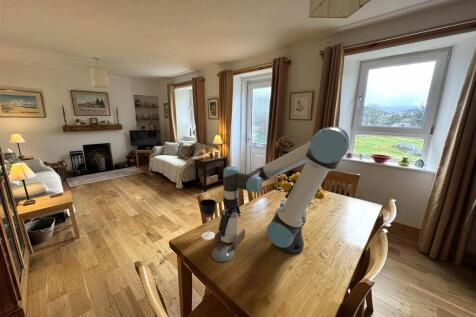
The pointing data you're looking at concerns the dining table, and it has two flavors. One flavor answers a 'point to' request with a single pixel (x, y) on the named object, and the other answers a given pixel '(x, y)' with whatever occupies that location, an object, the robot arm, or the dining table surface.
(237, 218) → the cup
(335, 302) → the dining table surface
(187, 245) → the dining table surface
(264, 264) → the dining table surface
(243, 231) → the rail slot
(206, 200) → the wineglass
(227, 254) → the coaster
